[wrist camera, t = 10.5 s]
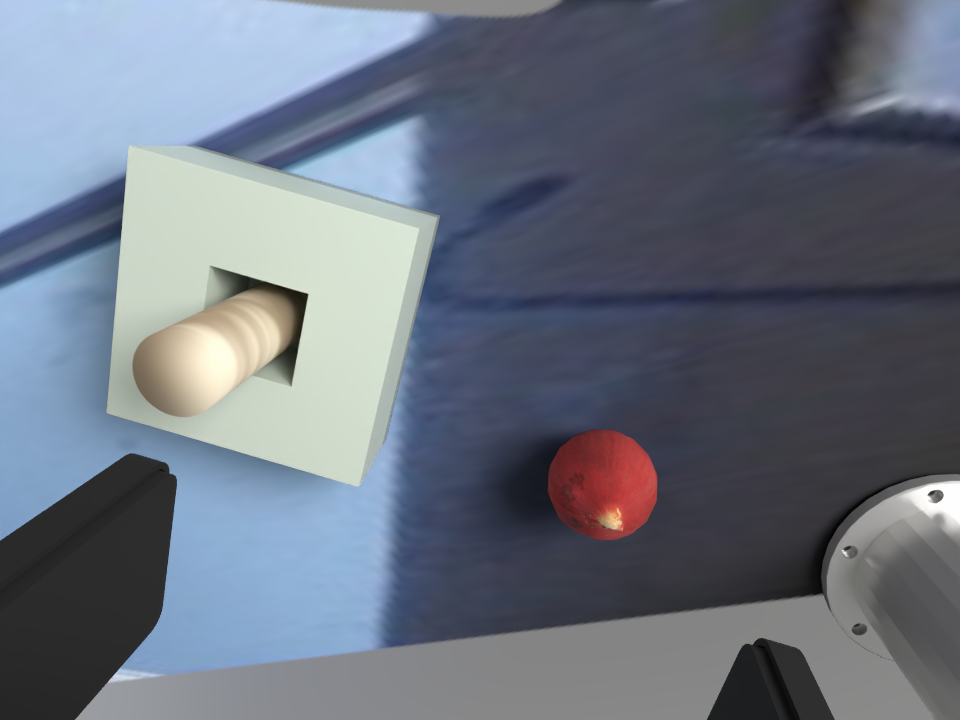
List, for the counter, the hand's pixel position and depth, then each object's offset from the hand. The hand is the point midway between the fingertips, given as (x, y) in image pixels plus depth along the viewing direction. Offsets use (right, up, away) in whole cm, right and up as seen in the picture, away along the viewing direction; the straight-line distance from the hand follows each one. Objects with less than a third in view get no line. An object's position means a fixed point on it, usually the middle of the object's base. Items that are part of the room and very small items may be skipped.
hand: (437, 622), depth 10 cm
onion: (+8, -1, +29) cm, 30 cm away
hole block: (-10, +8, +28) cm, 30 cm away
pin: (-10, +7, +27) cm, 30 cm away
